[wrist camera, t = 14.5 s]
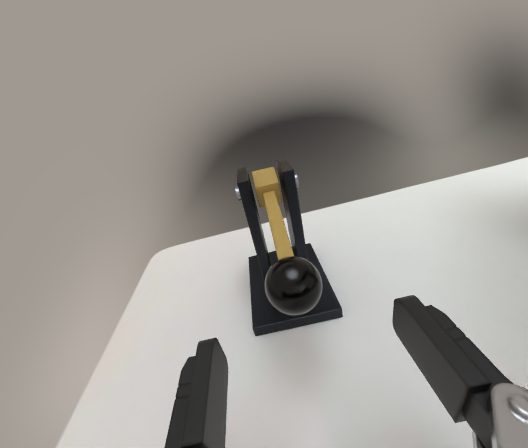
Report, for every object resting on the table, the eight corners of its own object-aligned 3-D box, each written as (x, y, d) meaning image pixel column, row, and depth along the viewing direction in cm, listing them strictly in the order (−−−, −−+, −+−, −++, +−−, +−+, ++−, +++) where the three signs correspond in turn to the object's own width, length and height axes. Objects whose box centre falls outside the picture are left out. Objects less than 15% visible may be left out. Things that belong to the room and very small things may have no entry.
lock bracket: (342, 316, 24) (332, 176, 17) (255, 336, 24) (208, 205, 17) (311, 249, 34) (296, 146, 27) (250, 263, 35) (220, 164, 28)
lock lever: (330, 318, 15) (331, 288, 12) (274, 330, 15) (264, 303, 13) (284, 189, 25) (279, 159, 23) (251, 197, 25) (243, 167, 23)
